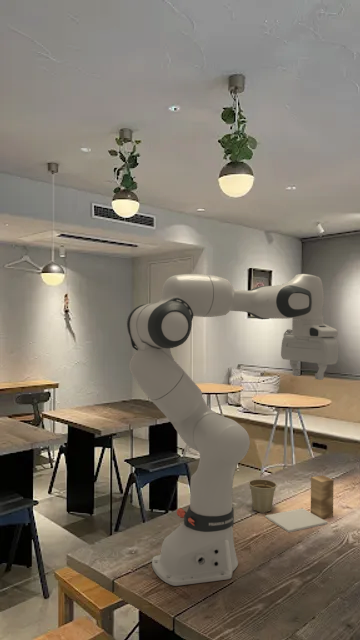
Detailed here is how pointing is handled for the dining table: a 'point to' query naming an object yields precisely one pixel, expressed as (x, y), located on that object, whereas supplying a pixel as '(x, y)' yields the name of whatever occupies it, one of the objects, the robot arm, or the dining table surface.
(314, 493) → the oak block
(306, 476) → the dining table surface
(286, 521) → the white board
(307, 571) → the dining table surface
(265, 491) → the flower pot
